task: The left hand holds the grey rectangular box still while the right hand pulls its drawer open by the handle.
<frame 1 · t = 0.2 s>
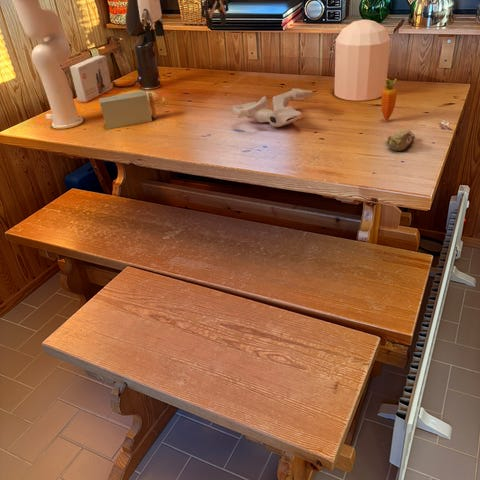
left hand: (155, 38, 166), 31 cm above the table, tool pointing down, fingers open, 9 cm apart
right hand: (216, 26, 186), 29 cm above the table, tool pointing down, fingers open, 8 cm apart
container: (359, 92, 194), on the table
skincare box: (96, 95, 222), on the table
rock: (401, 146, 148), on the table
drawer: (139, 107, 185), point 5 cm above the table, slide at 0.9 cm
grey rectangular box: (129, 122, 187), on the table
carrot: (386, 121, 166), on the table
beige branched piece: (279, 124, 171), on the table
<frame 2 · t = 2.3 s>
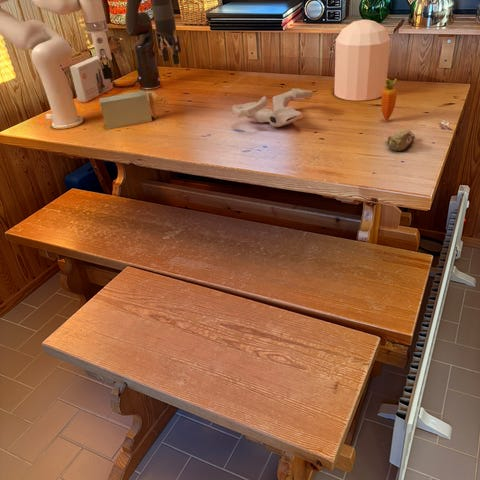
left hand: (107, 75, 175), 19 cm above the table, tool pointing down, fingers open, 9 cm apart
right hand: (171, 62, 182), 20 cm above the table, tool pointing down, fingers open, 8 cm apart
nothing on the table moved.
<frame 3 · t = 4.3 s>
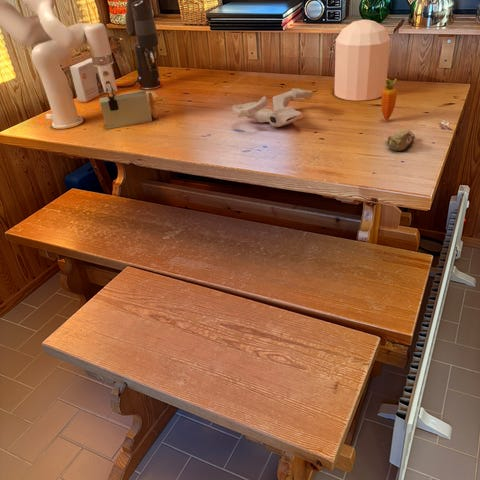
left hand: (114, 107, 182), 7 cm above the table, tool pointing down, fingers closed on grey rectangular box, 6 cm apart
right hand: (155, 79, 181), 15 cm above the table, tool pointing down, fingers closed
grey rectangular box: (129, 122, 187), on the table, touching left hand
everything else where it was.
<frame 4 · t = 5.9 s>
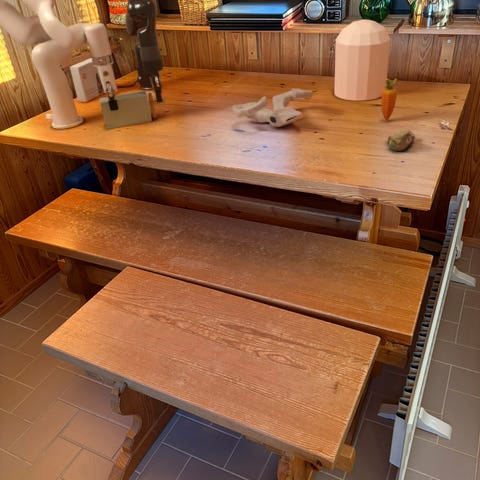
left hand: (114, 107, 182), 7 cm above the table, tool pointing down, fingers closed on grey rectangular box, 6 cm apart
right hand: (159, 102, 186), 6 cm above the table, tool pointing down, fingers closed
drawer: (139, 107, 185), point 5 cm above the table, slide at 0.9 cm, touching right hand
grey rectangular box: (128, 122, 187), on the table, touching left hand
everything else where it was.
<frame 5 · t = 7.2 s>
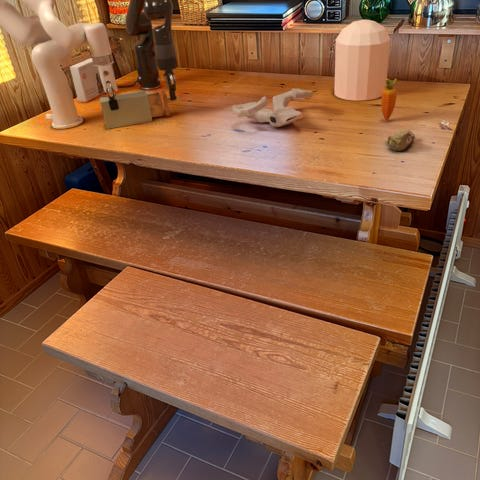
left hand: (114, 106, 182), 7 cm above the table, tool pointing down, fingers closed on grey rectangular box, 6 cm apart
right hand: (173, 100, 187), 6 cm above the table, tool pointing down, fingers closed
drawer: (152, 105, 186), point 5 cm above the table, slide at 6.3 cm, touching right hand
grey rectangular box: (129, 122, 187), on the table, touching left hand
everything else where it was.
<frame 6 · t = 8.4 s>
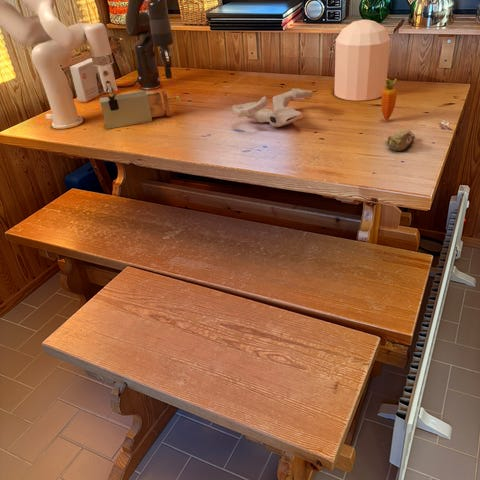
left hand: (114, 106, 182), 7 cm above the table, tool pointing down, fingers closed on grey rectangular box, 6 cm apart
right hand: (169, 78, 182), 15 cm above the table, tool pointing down, fingers closed
drawer: (153, 105, 186), point 5 cm above the table, slide at 6.4 cm
grey rectangular box: (129, 122, 187), on the table, touching left hand
everything else where it was.
when the left hand's fingers open (7 cm above the table, at t = 9.0 s): grey rectangular box stays where it is, on the table.
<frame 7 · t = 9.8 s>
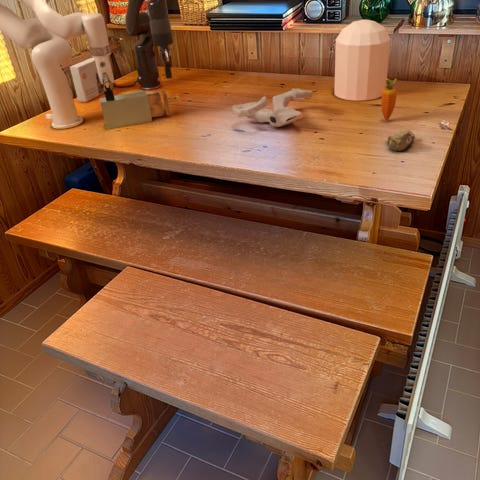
left hand: (109, 96, 180), 11 cm above the table, tool pointing down, fingers open, 9 cm apart
right hand: (169, 78, 182), 15 cm above the table, tool pointing down, fingers closed
grey rectangular box: (129, 122, 187), on the table
everything else where it was.
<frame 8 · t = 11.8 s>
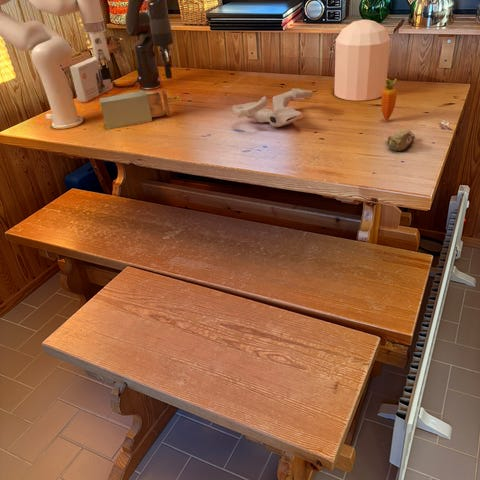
left hand: (106, 76, 175), 19 cm above the table, tool pointing down, fingers open, 9 cm apart
right hand: (169, 78, 182), 15 cm above the table, tool pointing down, fingers closed
nothing on the table moved.
at the end: drawer slide at 6.4 cm; grey rectangular box tilted 0°; grey rectangular box never tilted more than 1° during the clip; grey rectangular box moved 0.1 cm from its start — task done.
